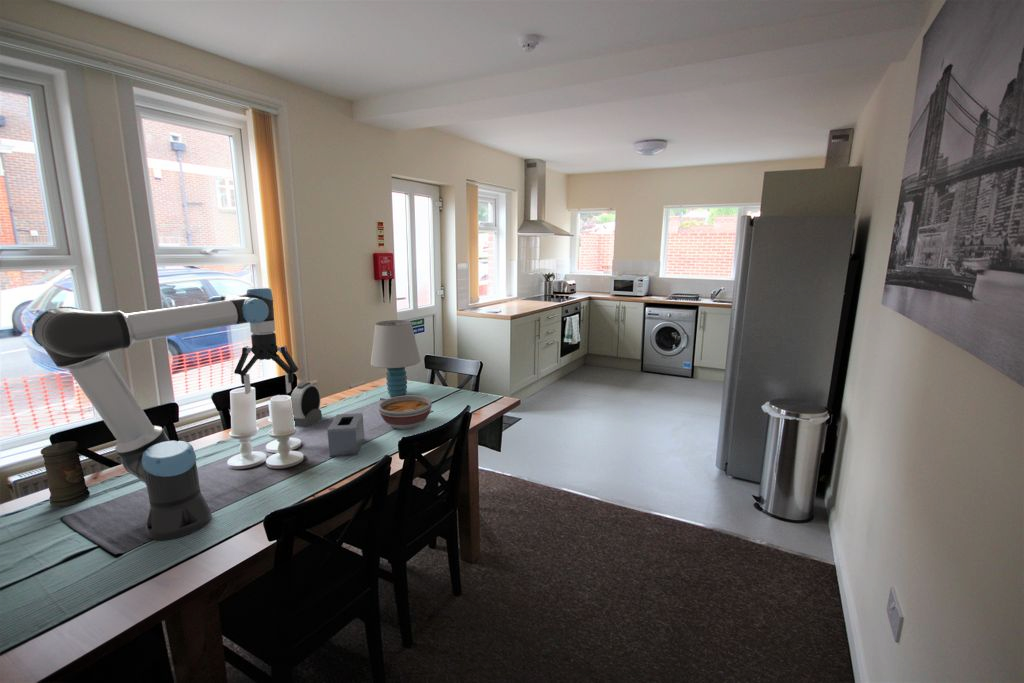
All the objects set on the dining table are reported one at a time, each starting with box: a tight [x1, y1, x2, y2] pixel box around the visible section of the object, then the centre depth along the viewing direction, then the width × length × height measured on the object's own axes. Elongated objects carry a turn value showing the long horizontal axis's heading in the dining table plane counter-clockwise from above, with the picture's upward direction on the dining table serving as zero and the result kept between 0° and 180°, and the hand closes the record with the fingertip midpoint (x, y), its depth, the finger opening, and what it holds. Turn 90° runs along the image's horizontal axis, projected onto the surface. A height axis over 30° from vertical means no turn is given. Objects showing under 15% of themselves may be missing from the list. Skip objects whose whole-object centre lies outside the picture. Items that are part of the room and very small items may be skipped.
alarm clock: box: [290, 381, 323, 428], centre depth 209 cm, size 16×10×18 cm, turn 171°
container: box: [40, 440, 91, 508], centre depth 145 cm, size 9×9×18 cm
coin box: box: [326, 412, 365, 458], centre depth 182 cm, size 10×16×11 cm, turn 8°
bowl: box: [378, 394, 433, 430], centre depth 206 cm, size 23×23×10 cm
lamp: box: [370, 319, 421, 398], centre depth 243 cm, size 25×25×39 cm
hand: (268, 392), depth 163 cm, fingers open, 13 cm apart
